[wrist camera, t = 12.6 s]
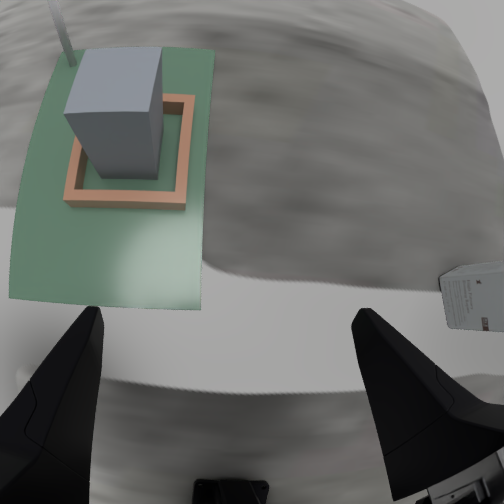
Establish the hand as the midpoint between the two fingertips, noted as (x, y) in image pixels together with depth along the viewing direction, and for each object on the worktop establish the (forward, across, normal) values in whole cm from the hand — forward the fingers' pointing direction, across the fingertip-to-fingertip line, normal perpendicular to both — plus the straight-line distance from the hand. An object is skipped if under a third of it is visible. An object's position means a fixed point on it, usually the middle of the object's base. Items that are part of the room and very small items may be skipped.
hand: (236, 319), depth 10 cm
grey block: (+18, +6, +1) cm, 19 cm away
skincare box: (+10, -26, +10) cm, 30 cm away
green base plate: (+18, +8, +1) cm, 20 cm away
